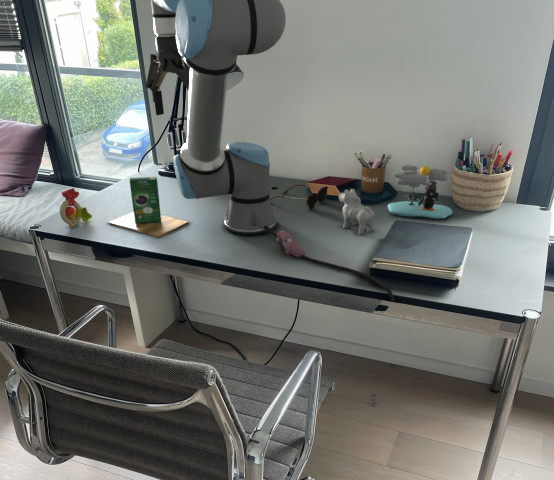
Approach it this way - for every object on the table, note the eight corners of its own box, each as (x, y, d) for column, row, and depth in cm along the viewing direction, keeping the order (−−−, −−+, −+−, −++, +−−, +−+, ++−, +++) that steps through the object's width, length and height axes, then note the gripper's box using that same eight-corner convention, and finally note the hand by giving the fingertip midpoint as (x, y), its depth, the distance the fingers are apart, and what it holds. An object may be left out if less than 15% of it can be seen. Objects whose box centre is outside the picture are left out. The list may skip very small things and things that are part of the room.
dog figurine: (345, 219, 172) (347, 184, 166) (375, 232, 164) (379, 195, 158) (332, 223, 170) (334, 188, 164) (362, 236, 162) (366, 199, 155)
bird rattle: (81, 235, 168) (97, 214, 172) (62, 206, 159) (80, 185, 163) (65, 231, 170) (82, 211, 174) (46, 203, 161) (64, 182, 165)
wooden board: (188, 223, 170) (188, 221, 170) (159, 237, 161) (158, 236, 161) (139, 210, 179) (139, 209, 178) (109, 223, 170) (109, 222, 170)
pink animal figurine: (281, 250, 157) (270, 230, 153) (295, 242, 157) (284, 221, 153) (292, 265, 150) (281, 244, 145) (307, 256, 149) (296, 235, 145)
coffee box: (162, 219, 172) (156, 175, 164) (162, 222, 169) (156, 178, 162) (135, 220, 170) (128, 177, 163) (135, 224, 168) (128, 180, 160)
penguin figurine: (452, 212, 177) (461, 162, 168) (450, 224, 169) (459, 173, 160) (389, 205, 182) (395, 157, 174) (383, 216, 174) (389, 166, 165)
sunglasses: (307, 213, 177) (307, 197, 174) (264, 206, 184) (263, 191, 181) (328, 200, 186) (328, 185, 183) (286, 194, 194) (285, 180, 191)
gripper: (211, 35, 155) (216, 118, 167) (145, 32, 166) (155, 110, 178) (193, 38, 149) (200, 123, 161) (126, 34, 161) (138, 114, 173)
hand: (176, 117), depth 170 cm, fingers open, 13 cm apart
